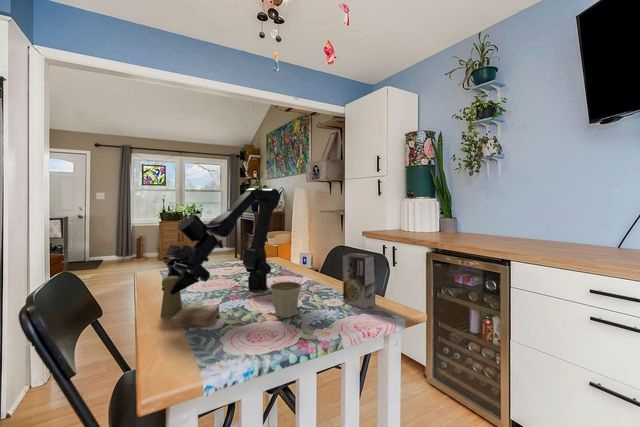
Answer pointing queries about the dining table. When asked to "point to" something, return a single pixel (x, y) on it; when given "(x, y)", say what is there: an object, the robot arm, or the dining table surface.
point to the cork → (170, 297)
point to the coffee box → (359, 279)
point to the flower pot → (285, 298)
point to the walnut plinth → (195, 316)
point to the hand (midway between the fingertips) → (167, 292)
